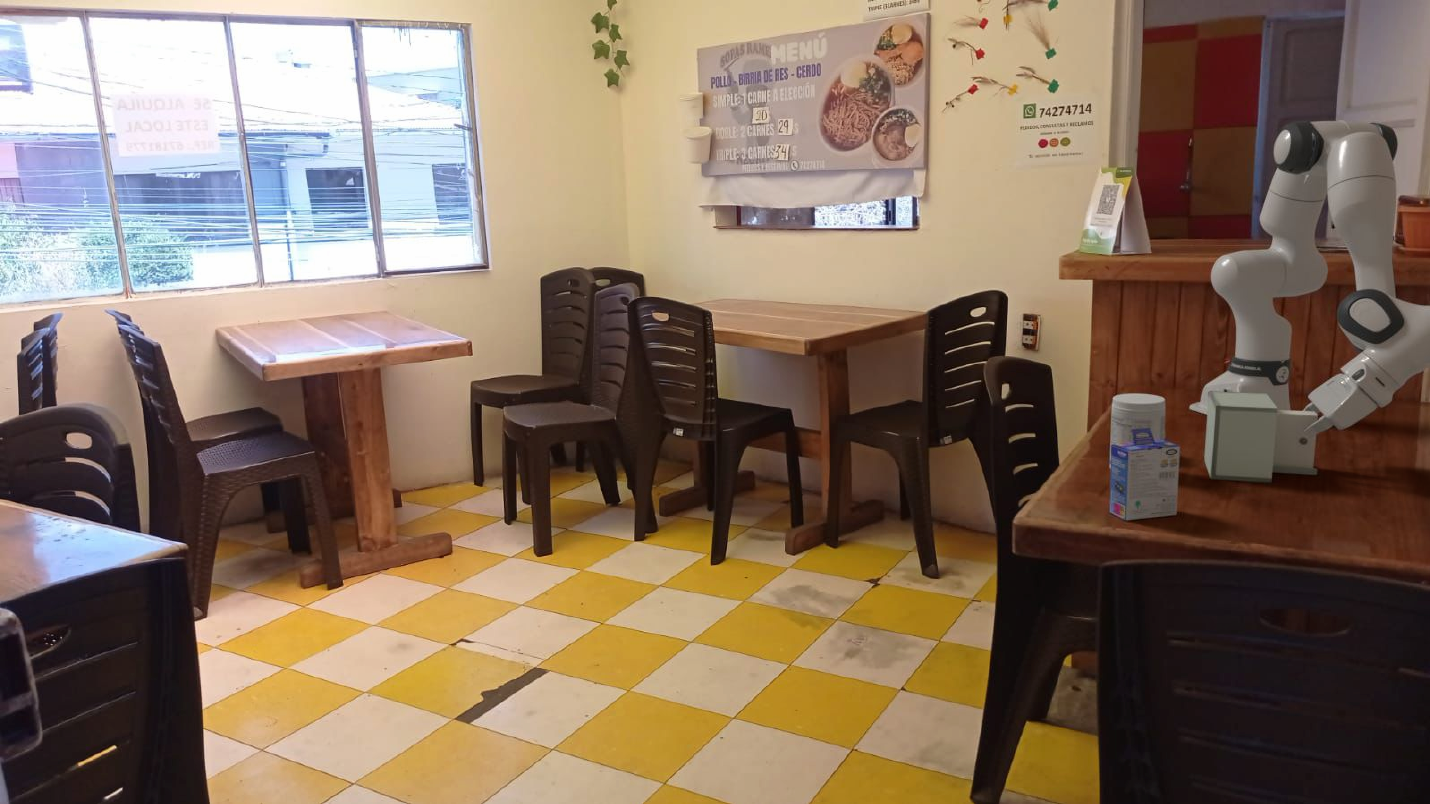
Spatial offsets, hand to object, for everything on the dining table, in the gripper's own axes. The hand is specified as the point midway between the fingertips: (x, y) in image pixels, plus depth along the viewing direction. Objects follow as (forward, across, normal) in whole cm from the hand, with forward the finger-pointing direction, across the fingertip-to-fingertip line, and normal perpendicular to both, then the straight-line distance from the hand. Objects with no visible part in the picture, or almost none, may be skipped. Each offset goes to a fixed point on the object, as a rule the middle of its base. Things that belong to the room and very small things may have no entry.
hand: (1301, 429), depth 187 cm
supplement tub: (+26, +10, -15) cm, 32 cm away
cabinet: (+10, +4, +1) cm, 11 cm away
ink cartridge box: (+26, +36, -14) cm, 46 cm away
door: (+6, 0, +5) cm, 8 cm away
